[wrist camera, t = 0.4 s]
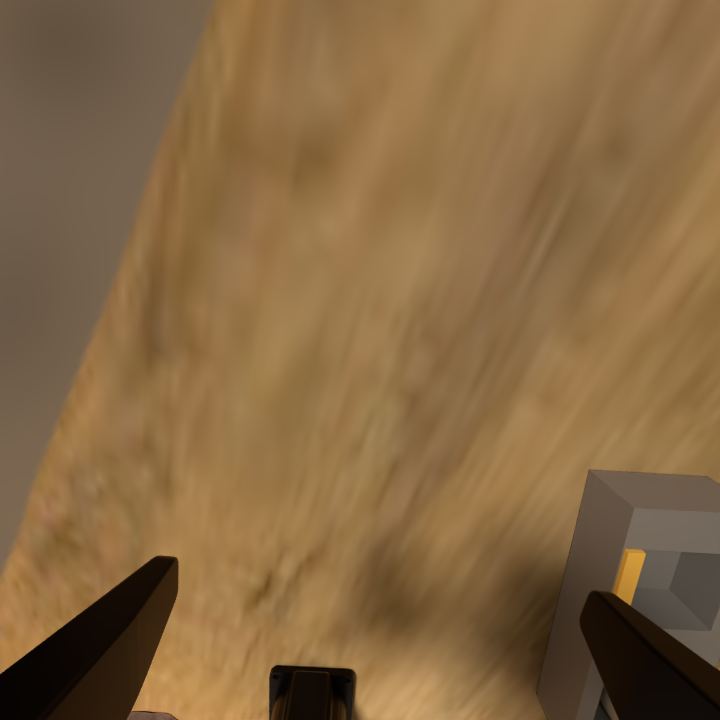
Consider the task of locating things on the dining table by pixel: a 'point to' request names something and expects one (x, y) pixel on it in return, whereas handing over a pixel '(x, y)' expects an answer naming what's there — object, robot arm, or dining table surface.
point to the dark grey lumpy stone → (150, 716)
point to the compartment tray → (635, 576)
